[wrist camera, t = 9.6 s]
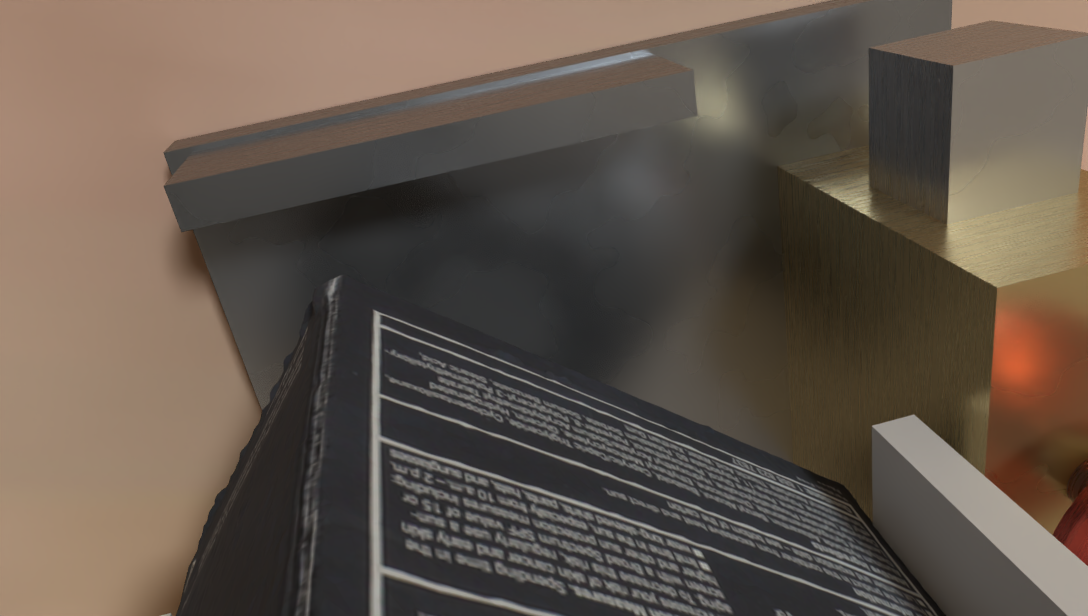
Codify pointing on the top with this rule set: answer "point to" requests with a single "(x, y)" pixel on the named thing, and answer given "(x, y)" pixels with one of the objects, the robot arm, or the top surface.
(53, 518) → the top surface
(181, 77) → the top surface
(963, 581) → the robot arm
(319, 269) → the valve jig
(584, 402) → the small box
